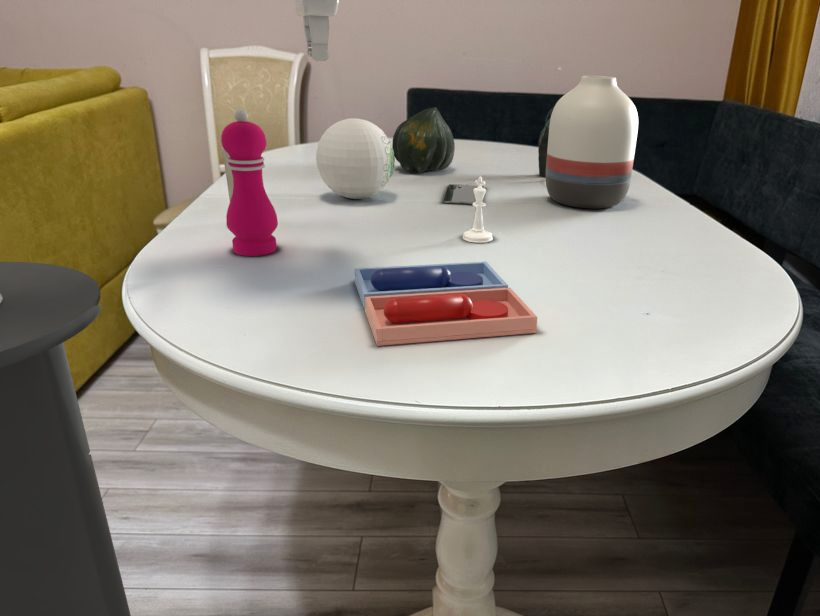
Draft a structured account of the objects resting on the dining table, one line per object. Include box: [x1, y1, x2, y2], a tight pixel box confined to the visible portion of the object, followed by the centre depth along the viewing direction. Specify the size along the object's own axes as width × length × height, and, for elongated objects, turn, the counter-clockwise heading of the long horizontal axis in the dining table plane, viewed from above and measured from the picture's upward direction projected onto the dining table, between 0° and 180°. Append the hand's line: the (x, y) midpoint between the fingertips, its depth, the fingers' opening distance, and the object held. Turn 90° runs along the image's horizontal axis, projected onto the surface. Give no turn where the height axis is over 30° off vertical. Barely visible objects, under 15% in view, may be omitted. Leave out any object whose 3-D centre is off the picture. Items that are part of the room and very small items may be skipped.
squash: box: [391, 107, 456, 173], centre depth 159 cm, size 14×15×15 cm
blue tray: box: [353, 261, 509, 311], centre depth 87 cm, size 18×10×2 cm, turn 105°
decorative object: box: [315, 117, 396, 200], centre depth 130 cm, size 15×15×15 cm
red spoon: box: [384, 294, 508, 323], centre depth 78 cm, size 15×5×3 cm, turn 105°
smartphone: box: [442, 183, 485, 205], centre depth 139 cm, size 8×1×16 cm
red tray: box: [364, 287, 538, 347], centre depth 78 cm, size 18×10×2 cm, turn 105°
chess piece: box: [462, 176, 494, 244], centre depth 108 cm, size 5×5×10 cm
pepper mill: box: [220, 108, 279, 257], centre depth 97 cm, size 7×7×20 cm
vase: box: [545, 75, 639, 210], centre depth 132 cm, size 17×17×24 cm
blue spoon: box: [371, 266, 483, 291], centre depth 87 cm, size 15×5×3 cm, turn 105°
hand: (317, 58), depth 82 cm, fingers open, 8 cm apart
